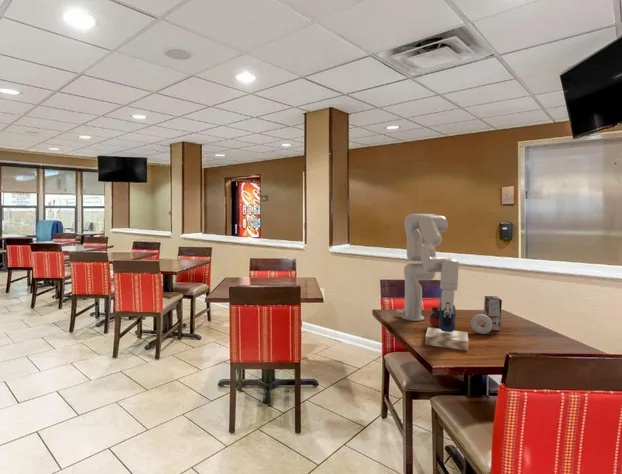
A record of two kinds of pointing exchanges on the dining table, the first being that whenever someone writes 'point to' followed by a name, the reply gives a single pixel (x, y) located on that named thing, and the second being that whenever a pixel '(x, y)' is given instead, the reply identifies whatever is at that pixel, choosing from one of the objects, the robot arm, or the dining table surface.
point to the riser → (447, 339)
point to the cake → (435, 316)
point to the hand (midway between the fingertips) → (447, 323)
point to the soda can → (453, 316)
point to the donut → (477, 328)
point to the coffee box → (493, 310)
